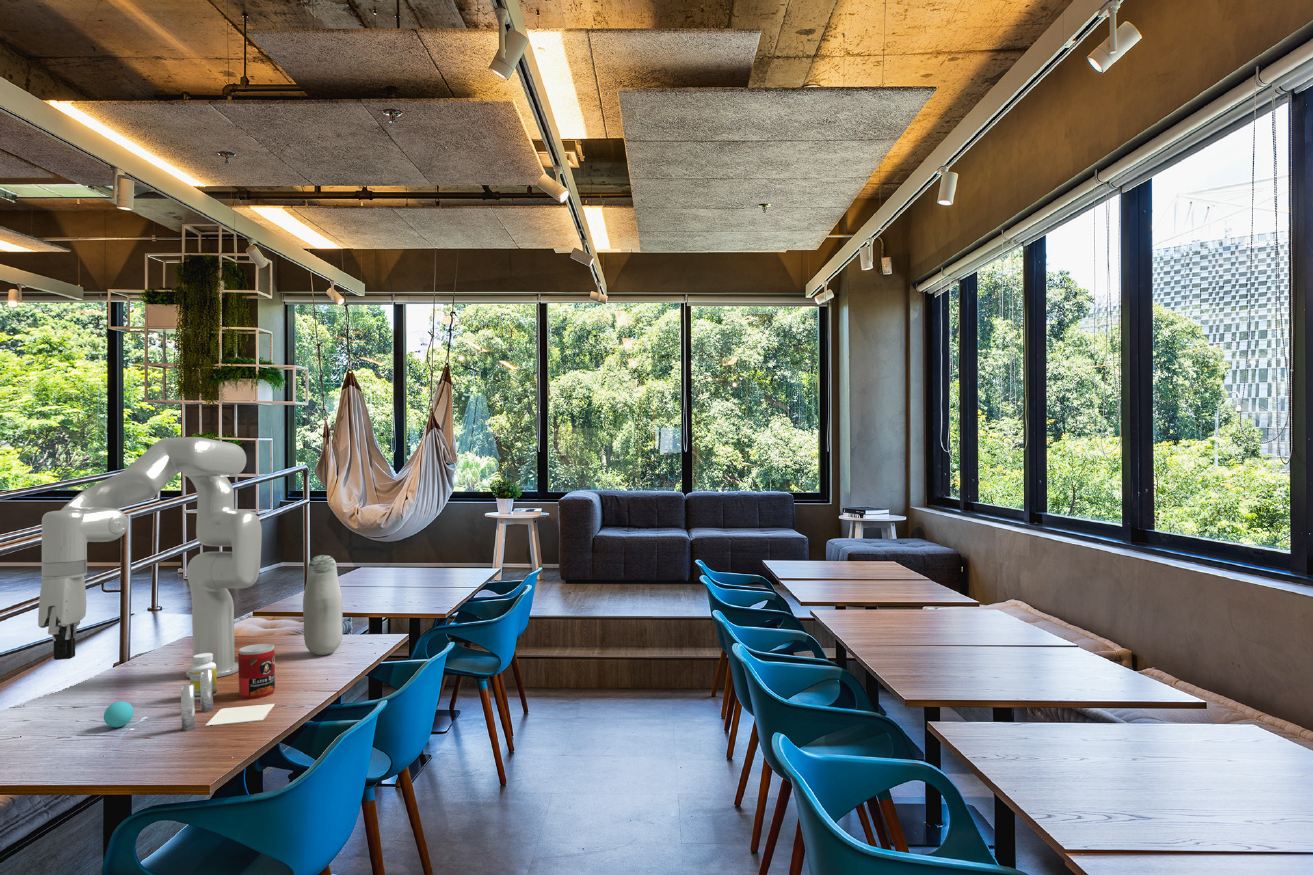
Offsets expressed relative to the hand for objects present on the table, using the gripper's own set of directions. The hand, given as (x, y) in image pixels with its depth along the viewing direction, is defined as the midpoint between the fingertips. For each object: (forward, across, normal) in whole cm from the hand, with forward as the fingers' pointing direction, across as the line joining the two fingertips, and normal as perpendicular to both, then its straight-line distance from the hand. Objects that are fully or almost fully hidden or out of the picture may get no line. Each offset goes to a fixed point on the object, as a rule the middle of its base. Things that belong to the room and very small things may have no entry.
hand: (64, 658), depth 162 cm
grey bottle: (+15, -51, +42) cm, 67 cm away
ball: (+13, 0, +10) cm, 16 cm away
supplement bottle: (+15, -18, +21) cm, 31 cm away
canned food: (+15, -16, +33) cm, 39 cm away
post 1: (+15, +6, +25) cm, 30 cm away
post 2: (+15, -7, +25) cm, 30 cm away
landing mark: (+15, 0, +33) cm, 36 cm away
